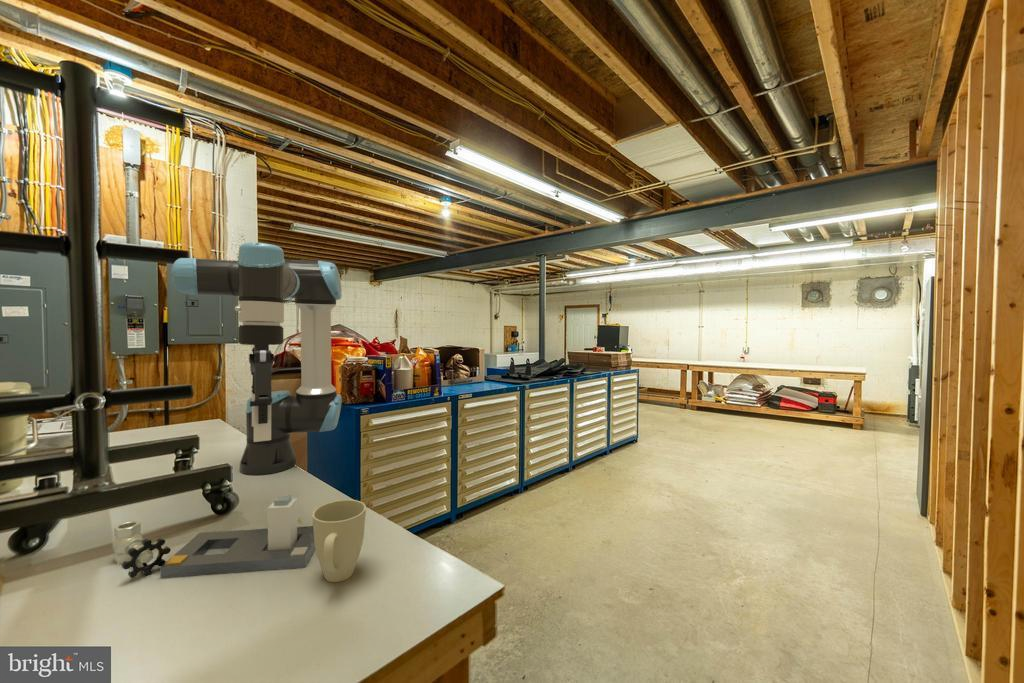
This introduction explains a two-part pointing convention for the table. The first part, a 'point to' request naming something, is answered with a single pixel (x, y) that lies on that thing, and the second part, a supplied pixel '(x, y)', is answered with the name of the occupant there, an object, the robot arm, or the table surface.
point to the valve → (136, 549)
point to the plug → (282, 523)
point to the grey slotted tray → (238, 553)
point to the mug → (339, 537)
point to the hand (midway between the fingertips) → (260, 432)
